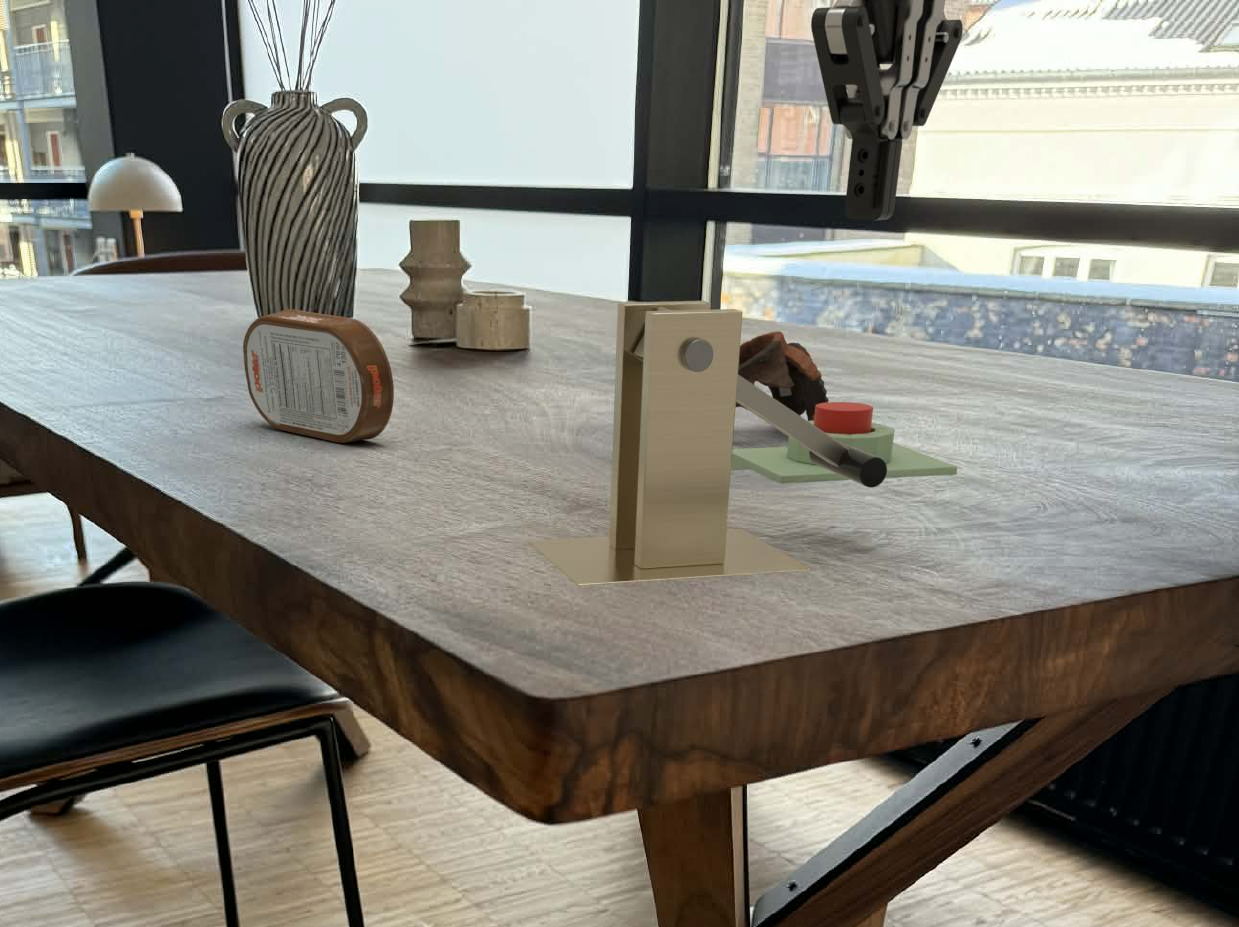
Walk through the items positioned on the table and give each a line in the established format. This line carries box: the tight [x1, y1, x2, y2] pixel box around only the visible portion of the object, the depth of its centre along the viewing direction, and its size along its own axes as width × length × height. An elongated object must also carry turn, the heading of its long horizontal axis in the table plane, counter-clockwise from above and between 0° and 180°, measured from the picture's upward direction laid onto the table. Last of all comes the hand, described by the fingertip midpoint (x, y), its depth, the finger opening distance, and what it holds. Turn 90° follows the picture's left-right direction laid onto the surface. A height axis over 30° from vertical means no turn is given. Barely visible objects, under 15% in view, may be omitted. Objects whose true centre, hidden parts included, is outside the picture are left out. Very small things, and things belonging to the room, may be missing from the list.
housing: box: [731, 420, 958, 484], centre depth 97 cm, size 12×9×4 cm
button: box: [814, 401, 874, 434], centre depth 96 cm, size 4×4×2 cm
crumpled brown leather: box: [736, 330, 830, 421], centre depth 113 cm, size 12×10×8 cm
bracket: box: [527, 300, 813, 587], centre depth 74 cm, size 12×9×13 cm
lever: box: [634, 307, 887, 489], centre depth 74 cm, size 13×6×2 cm
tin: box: [242, 308, 395, 444], centre depth 111 cm, size 15×3×8 cm, turn 44°
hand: (868, 218), depth 82 cm, fingers closed
